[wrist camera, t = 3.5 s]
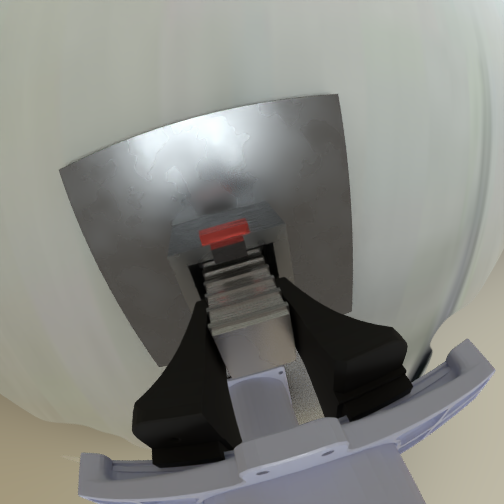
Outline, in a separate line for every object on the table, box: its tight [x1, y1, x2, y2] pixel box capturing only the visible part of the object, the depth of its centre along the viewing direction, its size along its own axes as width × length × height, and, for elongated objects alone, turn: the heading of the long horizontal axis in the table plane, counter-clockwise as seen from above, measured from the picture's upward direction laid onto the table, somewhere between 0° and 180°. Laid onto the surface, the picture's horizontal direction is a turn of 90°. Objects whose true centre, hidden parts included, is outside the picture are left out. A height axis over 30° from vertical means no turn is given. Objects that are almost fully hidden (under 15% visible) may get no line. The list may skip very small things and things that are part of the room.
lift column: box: [202, 246, 296, 379], centre depth 14 cm, size 3×3×8 cm
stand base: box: [59, 94, 353, 367], centre depth 16 cm, size 18×18×6 cm
